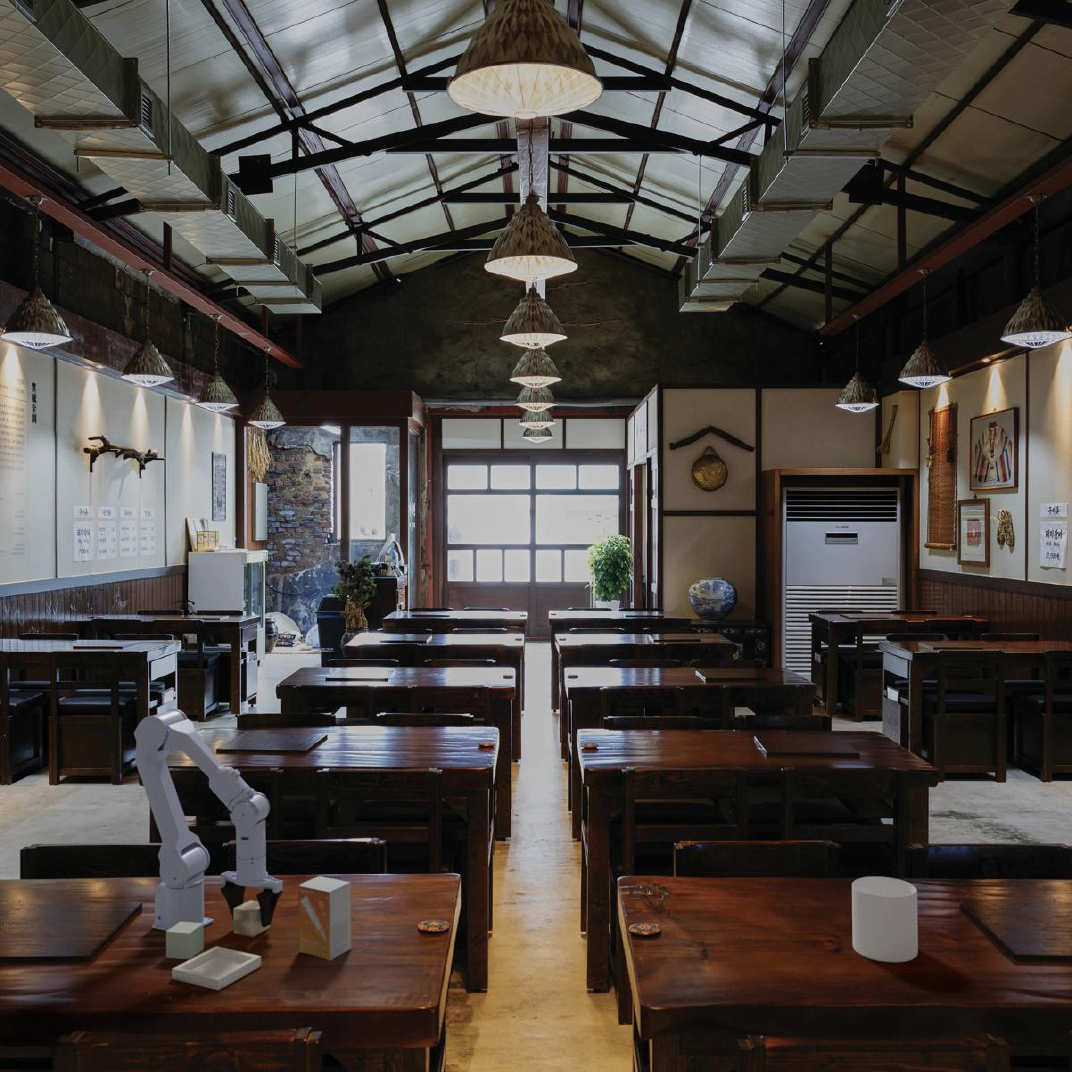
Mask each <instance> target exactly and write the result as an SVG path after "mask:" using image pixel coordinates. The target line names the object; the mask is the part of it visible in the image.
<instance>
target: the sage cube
mask: <svg viewBox="0 0 1072 1072" xmlns="http://www.w3.org/2000/svg"><path fill="white" fill-rule="evenodd" d="M204 927H205V926H204V923H193V922H179V923H177V924H176V925H175V926H173V927H172V928H170V929H169V930H167V931H165V958H169V959H180V960H181V959H182V960H190V959H192V958H194V957H196V955H197V954H198V955H199V953H200V952H202V951H203V950H204V948H205V945H204V944H205V937H204V935H205V933H204V932H205V931H204Z"/></svg>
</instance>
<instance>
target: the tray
mask: <svg viewBox="0 0 1072 1072" xmlns="http://www.w3.org/2000/svg"><path fill="white" fill-rule="evenodd" d="M261 967H262V955H261V956H260V955H258V954H253V953H248V952H244V951H238V950H235V949H231V948H226V947H221V946H218V945H217V946H213V947H212V948H210V949H208V950H206V951H204V952H202V953H200V954H198V955H197V956H196V955H195V956H194V957H193V958H191V959H187V961H185V962H183V963H181V964H179V965H177V966H175V967H173V968H172V969H171V970H172V971H171V973H172V974H171V978H172V980H176V981H179V982H183V983H188V984H192V985H195V986H200V987H202V988H208V989H212V990H216V991H221V990H222V989H223V988H225V987H227V986H229V985H230V984H232V983H234V982H236V981H237V980H239V979H241V978H243V977H245V976H246V975H248V974H250V973H251V972H254V971H256V970H257V969H259V968H261Z"/></svg>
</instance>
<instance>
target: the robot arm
mask: <svg viewBox="0 0 1072 1072" xmlns="http://www.w3.org/2000/svg"><path fill="white" fill-rule="evenodd" d="M133 735H134V738H135V741H136V745H135V746H136V747H135V757H134V760H135V761H134V762H135V764H136V767H137V770H138V773H139V777H140V779H141V782H142V785H143V788H144V792H145V793H146V794H145V795H146V797H147V800H148V802H149V806H150V808H151V811H152V814H153V818H154V821H155V823H156V826H157V829H158V832H159V835H160V838H161V842H162V844H161V846H160V848H159V852H158V854H157V857H158V860H159V864H160V865H159V876H160V878H161V880H162V882H161V883H159V884H158V886H157V888H156V891H155V895H154V924H152V925H151V928H152V929H156V930H162V931H164V932H166V931H167V930H169V929H170V928H172V927H173V926H175V925H176V924H177V923H179V922H193V923H204V927H205V926H208V925H210V924H211V923H213V922H214V920H215V919H214V918H210V917H205V892H204V891H205V885H204V884H205V881H204V879H205V878H204V877H205V871H206V870H207V868H209V865H210V860H211V857H210V854H209V851H208V849H207V848H206V847H205V846H204V845H203V844H202V843H201V841H200V840H201V839H200V838H199V836H198V835H197V834H195V833H194V832H192V831H190V828H189V825H188V822H187V820H186V817H185V814H184V811H183V808H182V805H181V802H180V800H179V796H178V793H177V791H176V788H175V784H174V782H173V779H172V776H171V773H170V770H169V767H168V764H167V756H168V755H169V753H170V752H171V751H180V752H182V753H184V755H186V757H188V758H189V760H191V761H192V763H194V764H195V765H196V767H198V768H199V769H200V770H201V772H203V773H204V774H205V775H206V776H207V777H208V778H209V779H208V780H209V781H208V786H209V789H211V790H212V792H213V793H214V794H215V795H216V796H217V798H218V799H219V800H220V801H221V803H223V804H224V805H225V807H226V808H227V809H228V810H229V811H230V812H231V813H229V817H230V820H231V823H232V824H233V825H234V826H235V836H236V837H235V840H236V841H235V843H236V848H235V849H236V852H235V853H236V858H235V859H236V871H229V870H227V871H224V872H222V873H220V883H221V884H223V885H224V886H222V887H220V893H221V894H222V896H223V897H224V899H225V901H226V903H227V906H228V908H229V912H230V915H231V918H232V921H233V922H234V910H233V908H235V907H237V906H239V905H242V904H244V899H245V898H244V897H245V892H246V888H247V887H248V888H255V889H259V890H263V891H261V892H259V893H256V895H255V897H256V901H258V903H259V906H260V912H261V925H262V927H267V926H269V925H270V926H271V925H272V922H273V917H274V914H275V913H274V912H275V909H276V907H277V904H278V901H279V899H280V898H281V895H282V894H283V889H284V886H283V882H284V881H283V880H280V879H277V878H275V877H273V876H271V875H269V873H268V871H267V866H266V865H267V864H266V863H267V861H266V860H267V857H266V856H267V855H266V854H267V853H266V851H267V849H266V847H267V846H266V845H267V844H266V843H267V842H266V841H267V840H266V819H265V818H267V816H268V815H269V813H270V810H271V808H270V807H271V805H270V802H269V800H268V798H267V797H266V795H265V794H264V793H262V792H258V791H256V790H255V789H254V788H251V787H250V785H248V783H246V780H244V779H243V778H242V777H241V776H240V775H241V772H240V771H239V770H238V769H237V768H236V769H234V768H233V767H232V766H226V765H223V764H222V763H221V762H220V760H219V759H218V758H217V757H216V756H215V754H214V753H213V752H212V750H211V749H210V747H208V745H207V744H206V742H205V741H204V740H203V739H202V737H201V736H200V734H199V733H198V732H197V731H196V728H195V724H194V722H193V721H192V720H190V719H189V718H188V716H187V715H186V714H185V713H184V712H183V711H182V710H180V709H178V708H171V709H168V710H166V711H163V712H161V713H157V714H154V715H149V716H146V717H144V718H143V719H142V720H140V722H139V724H138V725H137V727H136V728H135V730H134V732H133Z"/></svg>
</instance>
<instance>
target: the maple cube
mask: <svg viewBox="0 0 1072 1072" xmlns="http://www.w3.org/2000/svg"><path fill="white" fill-rule="evenodd" d="M233 910H234V921H233V934H237V935H241V936H242V935H243V936H247V937H251V938H253V937H255V936H257V935H259V934H262V933H264V932H265V931H267V930H269V929H270V928H271V924H270V925H269V926H267V927H262V925H261V912H260V906H259V903H258V900H251V899H250V900H248V901H245V902H243V904H242V905H239V906H237V907H235V908H233Z"/></svg>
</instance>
